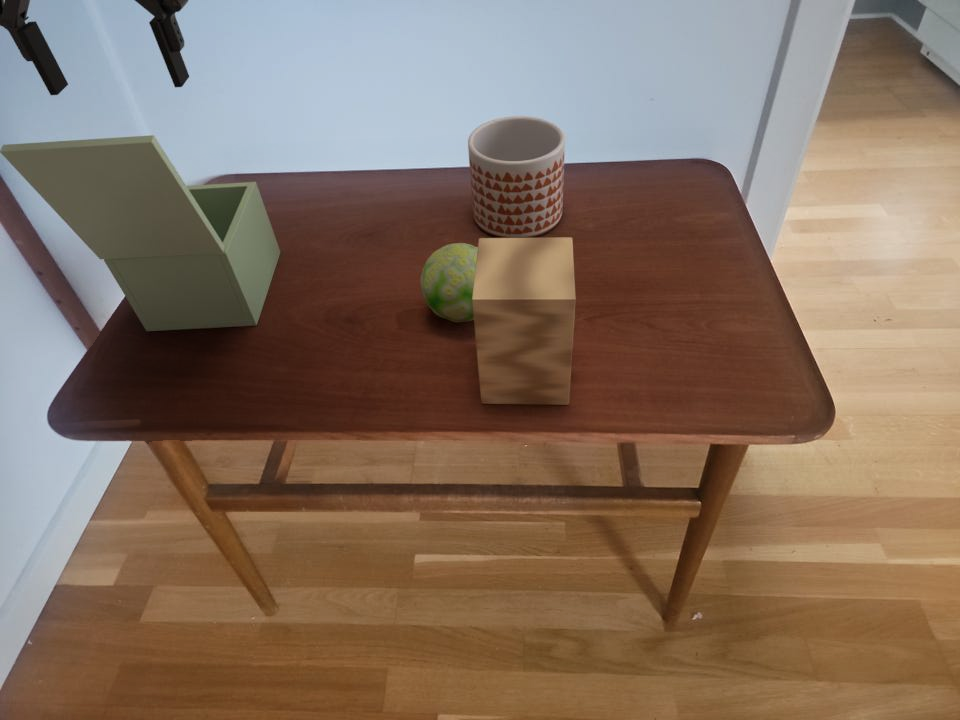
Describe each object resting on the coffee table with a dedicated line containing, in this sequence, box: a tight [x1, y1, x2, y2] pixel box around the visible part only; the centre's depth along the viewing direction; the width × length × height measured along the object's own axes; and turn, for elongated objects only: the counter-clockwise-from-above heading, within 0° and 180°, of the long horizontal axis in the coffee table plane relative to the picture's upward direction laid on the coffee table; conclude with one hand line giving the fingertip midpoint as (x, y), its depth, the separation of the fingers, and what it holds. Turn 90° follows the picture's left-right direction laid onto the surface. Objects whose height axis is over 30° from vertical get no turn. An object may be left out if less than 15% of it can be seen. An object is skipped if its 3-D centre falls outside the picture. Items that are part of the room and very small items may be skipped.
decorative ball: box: [419, 242, 478, 323], centre depth 82 cm, size 10×10×10 cm
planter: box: [467, 115, 566, 238], centre depth 95 cm, size 14×14×13 cm
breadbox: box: [103, 181, 281, 332], centre depth 87 cm, size 16×15×12 cm
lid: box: [0, 134, 225, 260], centre depth 70 cm, size 17×15×1 cm
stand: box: [472, 236, 577, 406], centre depth 71 cm, size 10×10×16 cm
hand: (121, 86), depth 70 cm, fingers open, 13 cm apart
